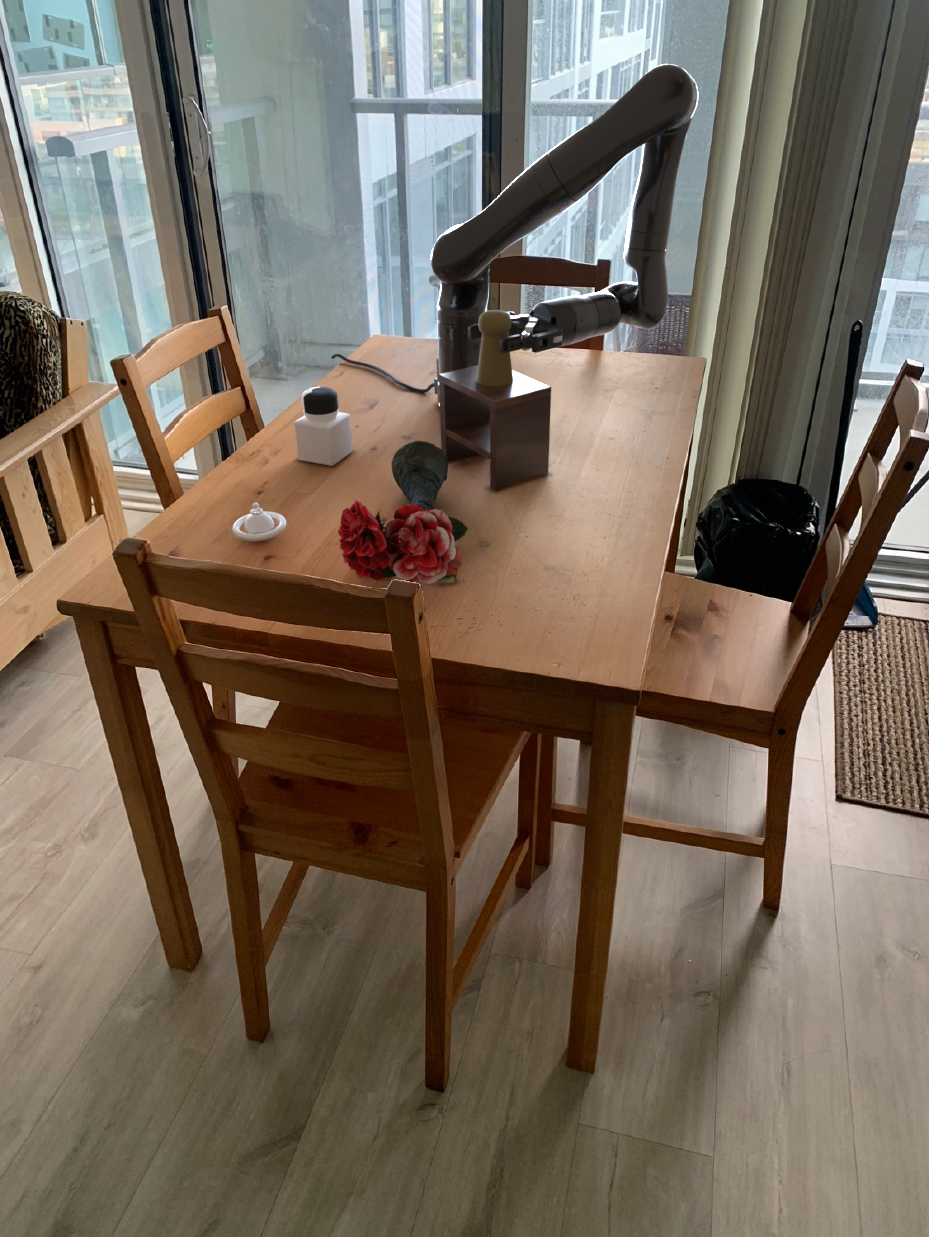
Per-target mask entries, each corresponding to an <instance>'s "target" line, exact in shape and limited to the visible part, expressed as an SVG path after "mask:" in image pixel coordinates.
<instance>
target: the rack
mask: <svg viewBox="0 0 929 1237" xmlns="http://www.w3.org/2000/svg"><path fill="white" fill-rule="evenodd" d="M477 371H478V365H476V366H472V367H468V368H464V369H460V370H455V371H451V372H447V373H443V374H439V398H440V408H439V425H440V429H439V430H440V449H441V450H442V451H443V453H444V455H445V456H446V457H449V463H450V462H453V461H456V460H459V459H463V458H466V457H469V456H473V455H475V454H479V455H481V456H483V457H484V458H486V459H488V460H489V489H491V490H493V491H494V492H499V491H502V490H505V489H507V488H511V487H513V486H517V485H521V484H523V483H526V482H529V481H533V480H536V479H539V478H542V477H545V476H548V475H549V464H550V463H549V461H550V438H551V435H550V434H551V410H552V409H551V408H552V407H551V406H552V386H551V385H548V384H545V383H543V382H541V381H538V380H536V379H534V378H532V377H529V376H527V375H524V374H523V373H520V372H517V371H515V370H513V369H512V374H513V382H512V383H511V384H508V385H505V386H498V387H490V386H484V385H480V384H479V383H477V382H476V379H477Z"/></svg>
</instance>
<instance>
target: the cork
mask: <svg viewBox="0 0 929 1237" xmlns="http://www.w3.org/2000/svg"><path fill="white" fill-rule="evenodd" d="M507 312H508V311H504V310H500V309H490V310H486V311H485V312H483V313H482V314H481V315H480V317H479V321H478V326H479V330H480V331H481V333H482V338H481V346H480V354H479V362H478V371H477V379H476V382H477V383H479V384H480V385H484V386H490V387H498V386H505V385H508V384H511V383H512V382H513V374H512V370H513V367H512V358H511V352H507V353H502V352H500V339H501V338H504V337H508V334H509V330H510V328H511V317H510V315H509V314H508V313H507Z"/></svg>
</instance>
